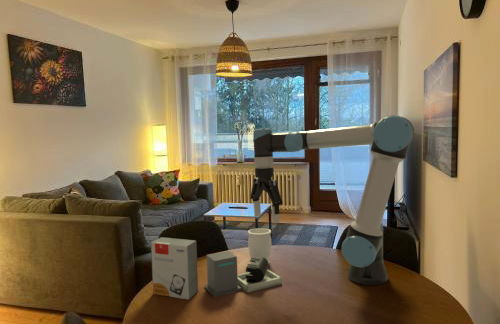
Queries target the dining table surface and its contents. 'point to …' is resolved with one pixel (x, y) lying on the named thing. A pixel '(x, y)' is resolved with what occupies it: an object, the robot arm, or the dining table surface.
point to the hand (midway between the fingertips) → (266, 219)
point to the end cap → (256, 270)
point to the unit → (222, 273)
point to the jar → (259, 243)
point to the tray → (268, 281)
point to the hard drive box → (174, 267)
